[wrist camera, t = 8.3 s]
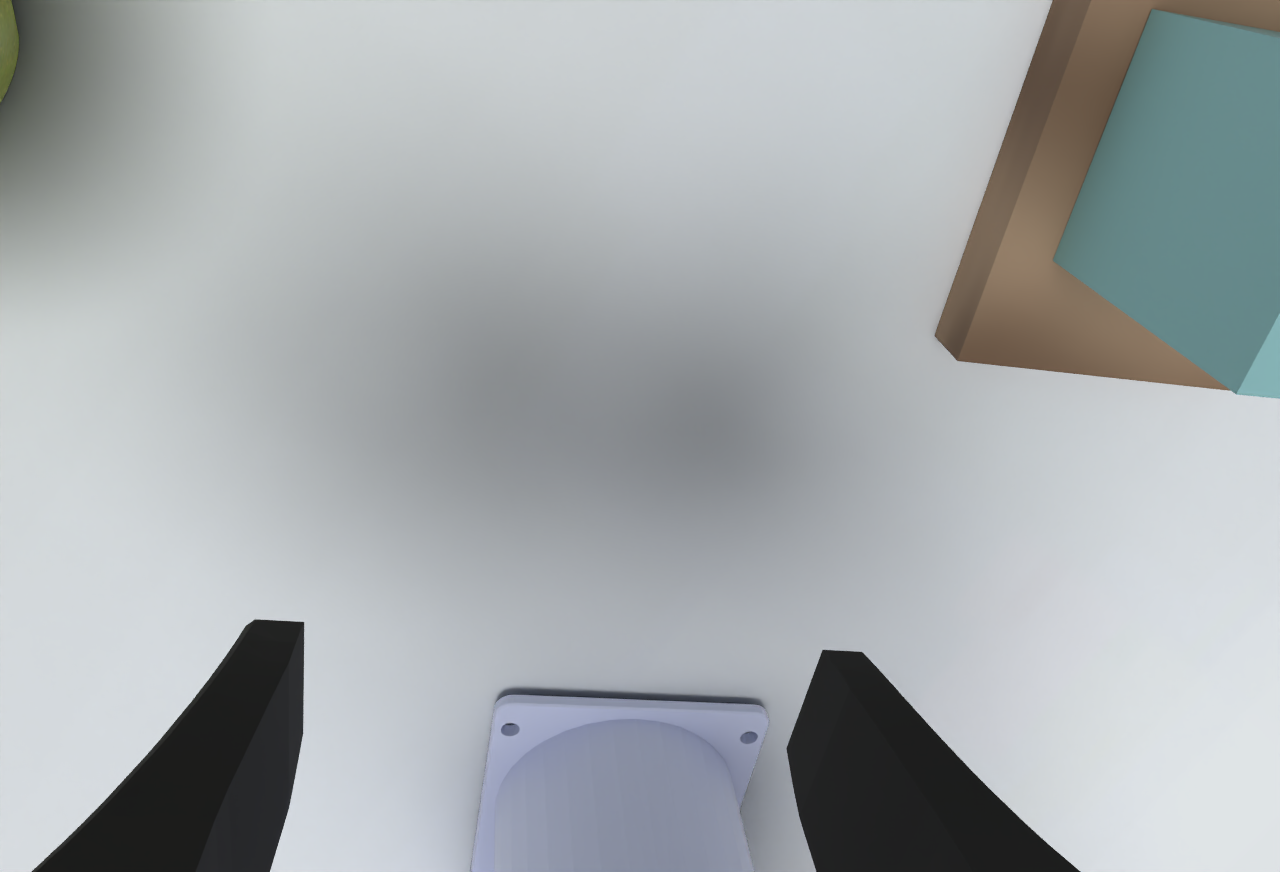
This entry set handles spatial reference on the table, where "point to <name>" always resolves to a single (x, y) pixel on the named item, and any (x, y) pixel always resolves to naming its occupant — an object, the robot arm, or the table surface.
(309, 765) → the table surface
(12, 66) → the plant pot
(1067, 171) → the walnut slab
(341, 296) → the table surface
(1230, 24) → the teal block
